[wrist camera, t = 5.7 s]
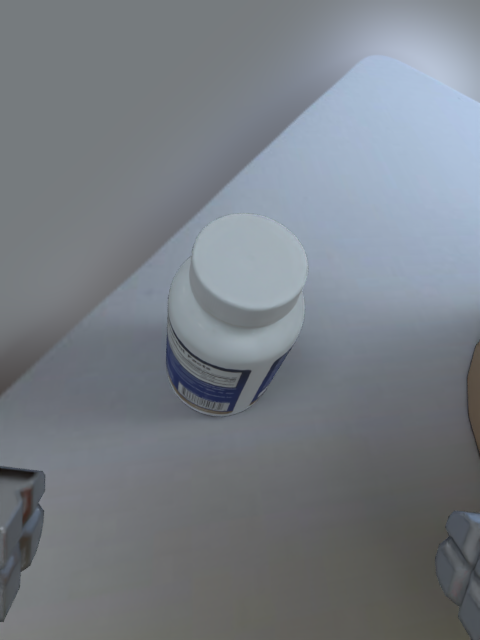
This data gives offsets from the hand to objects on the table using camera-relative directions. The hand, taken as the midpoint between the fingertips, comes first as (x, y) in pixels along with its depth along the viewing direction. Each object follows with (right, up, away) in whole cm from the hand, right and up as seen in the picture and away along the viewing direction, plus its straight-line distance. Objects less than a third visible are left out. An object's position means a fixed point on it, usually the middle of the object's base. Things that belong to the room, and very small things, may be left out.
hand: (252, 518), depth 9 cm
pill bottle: (-1, +1, +15) cm, 15 cm away
